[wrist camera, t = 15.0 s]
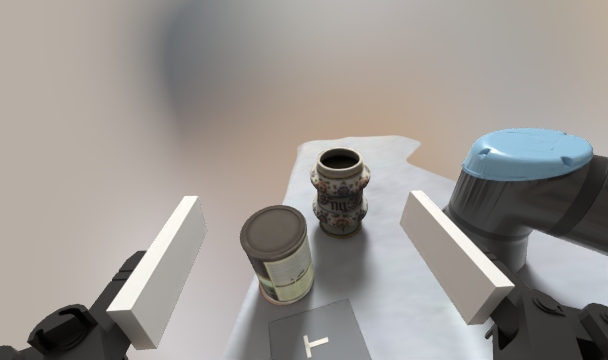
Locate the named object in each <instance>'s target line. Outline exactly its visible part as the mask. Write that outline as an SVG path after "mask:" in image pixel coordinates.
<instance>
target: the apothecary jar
mask: <svg viewBox="0 0 608 360" xmlns="http://www.w3.org/2000/svg"><path fill="white" fill-rule="evenodd" d="M310 179H311V182H312V184H313V186H314V187H315V188H316V189H317V195H316V196H315V198H314V200H313V211H314V213H315V215H316V217H317V218H318V219H319V220H320V222H319V223H320V227H321V229H322V230H323V231H324V232H325V233H326V234H327V235H329V236H331V237H335V238H348V237H351V236H353V235H355V234H356V233H357V232H358V231H359V230H360V228H361V226H362V221H361V220H362V219H363V218H364V217H365V215H366V213H367V210H368V203H367V200H366V198H365V196H364V195H363V189H364V188H365V187H366V186H367V184H368V182H369V180H370V171H369V168H368V167H367V165H366V164H365V163H364V162H363V161H362V157H361V155H360V154H359V153H358V152H357V151H355V150H353V149H350V148H346V147H334V148H330V149H327V150H325V151H323V152H322V153H320V154H319V156H318V159H317V163H316V164H315V165H314V166H313V168H312V170H311V173H310Z"/></svg>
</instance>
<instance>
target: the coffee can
mask: <svg viewBox="0 0 608 360" xmlns="http://www.w3.org/2000/svg"><path fill="white" fill-rule="evenodd" d="M240 242H241V245H242V247H243V249H244V250H245V252H246V254H247V256H248V258H249V260H250V262H251V264H252V266H253V268H254V270H255V273H256V275H257V277H258V279H259V281H260V283H261V285H262V288H263V291H264V293H265V294H266V296H267V297H268V298H269V299H271V300H272V301H274V302H277V303H280V304H289V303H293V302H296V301H298V300H300V299H301V298H303V297H304V296H305V295H306V294H307V293H308V291H309V290H310V288H311V286H312V284H313V280H314V269H313V266H312V260H311V254H310V248H309V242H308V236H307V225H306V220H305V218H304V216H303V215H302V214H301V212H299V211H298V210H297V209H295V208H293V207H290V206H285V205H276V206H270V207H266V208H264V209H262V210H260V211H258V212H256V213H255V214H253V215H252V216H251V217H250V218H249V219H248V220H247V221H246V222H245V224H244V225H243V227H242V230H241V233H240Z"/></svg>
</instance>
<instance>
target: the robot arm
mask: <svg viewBox="0 0 608 360" xmlns="http://www.w3.org/2000/svg"><path fill="white" fill-rule="evenodd" d="M462 167H463V169H462V171H461V174H460V176H459V179H458V181H457V184H456V186H455V189H454V191H453V194H452V196H451V199H450V201H449V204H448V205H447V206H446V207H444V208H443V209H442V210H440V209H439V208H438V207H437V206H436V205H435V204H434V203H433V202H432V201H431V200H430V199H429V198H428V197H427V196H426V195H425V194H424V193H423V192H422V191H410V193H409V196H408V199H407V202H406V205H405V208H404V211H403V214H402V218H401V221H400V225H401V227H402V228H403V230H404V231H405V233H406V234H407V236H408V237H409V239H410V240H411V241H412V243H413V244H414V246H415V247H416V249H417V250H418V252H419V253H420V255H421V256H422V258H423V259H424V261H425V262H426V264H427V265H428V267H429V268H430V270H431V271H432V273H433V274H434V276H435V277H436V279H437V280H438V282H439V283H440V285H441V286H442V288H443V289H444V291H445V292H446V294H447V295H448V297H449V298H450V300H451V301H452V303H453V304H454V306H455V307H456V309H457V310H458V312H459V313H460V315H461V316H462V318H463V319H464V321H465V322H466V324H467V325H475V324H484V322H485V321H486V320H487V319H488V318H489V316H490V317H491V318H492V320H493V321H494V322H495V324H494V325H493V326H492V327H491V329H490V330H489V331H488V332H487V333H486V335H485V338H486V339H489V337H490V336H491V335H493V341H492V342H493V360H608V307H607V306H604V305H602V304H596V303H591V304H588V305H587V306H586V307H584V308H583V309H582V310H580V309H576V308H572V307H567V306H563V305H560V304H559V303H558V302H557V301H556V300H554V299H553V298H552V297H550V296H548V295H546V294H544V293H542V292H540V291H537V290H533V289H529V288H527V287H526V286H525V285H524V284H523V283H522V282H521V281H520V280H519V279H518V278H517V277H516V276H515V274H516V273H517V272H518V271H519V270H520V269H521V268H522V267H523V265H524V263H525V261H526V253H527V244H528V236H529V234H530V233H531V232H532V230H533V229H534V230H537V231H540V232H543V233H545V234H548V235H551V236H554V237H556V238H559V239H562V240H565V241H568V242H570V243H573V244H576V245H579V246H582V247H584V248H587V249H590V250H593V251H596V252H598V253H601V254H604V255H606V256H608V157H603V156H598V155H593V148H592V146H591V144H590V143H589V142H588V141H586V140H584V139H582V138H580V137H578V136H575V135H567V134H566V133H565V132H560V131H555V130H548V129H535V128H516V129H506V130H501V131H496V132H492V133H489V134H487V135H484V136H482V137H481V138H479V139H478V140H477V141H476V142H475V143H474V144H473V146H472V147H471V150H470V151H469V154H468V156H467V158H466V159H465V160H464V161H463V164H462ZM206 233H207V227H206V223H205V220H204V216H203V212H202V208H201V205H200V201H199V197H198V196H185V197H184V198H183V200H182V201H181V203H180V204H179V205H178V207H177V208H176V210H175V211H174V213H173V214H172V216H171V217H170V219H169V220H168V222H167V223H166V225H165V226H164V227H163V229H162V230H161V232H160V233H159V235H158V236H157V238H156V239H155V240H154V242H153V243H152V245H151V246H150V248H149V249H148V251H137V252H136V253H135V254H134V255H132V256H131V257H130V258H129V259H127V260H126V262H125V263H124V264H123V266H122V267H121V268H120V269H119V272H118V273H117V274H116V275H115V276H114V277H113V279H112V281H111V282H110V283H109V284H108V285H107V287H106V288H105V289H104V291H103V292H102V293H101V295H100V296H99V297H98V299H97V300H96V301H95V303H94V304H93V305H92V307H91V308H90V309H89V310H88V309H87V308H86V307H85V306H84V305H80V304H74V305H68V306H66V307H64V308H61V309H58V310H57V311H55V312H53V313H52V314H50V315H49V316H47V317H46V318H45V319H44V320H42V321H41V322H40V323H39V324H38V325H37V326H36V327H35V328H34V330H33V331H32V332H31V333H30V335H29V338H28V341H27V342H28V343H29V344H30V345H31V346H32V347H29V348H27V349H24V350H21V351H17V350H16V349H14V348H13V347H11V346H0V360H128V357H127V356H126V352H127V350H128V348H129V346H130V344H132V345H133V346H134V348H135V349H136V350H145V349H157V347H158V345H159V343H160V340H161V338H162V335H163V333H164V331H165V329H166V326H167V324H168V322H169V319H170V317H171V314H172V312H173V310H174V308H175V305H176V303H177V301H178V298H179V296H180V293H181V291H182V289H183V287H184V284H185V282H186V279H187V277H188V275H189V273H190V270H191V268H192V266H193V263H194V261H195V258H196V256H197V254H198V252H199V249H200V247H201V244H202V242H203V240H204V238H205V235H206Z"/></svg>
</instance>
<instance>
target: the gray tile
mask: <svg viewBox="0 0 608 360" xmlns="http://www.w3.org/2000/svg"><path fill="white" fill-rule="evenodd" d="M269 333H270V344H271V355H272V360H372V359H371V357H370V354H369V352H368V349H367V346H366V344H365V341H364V339H363V336H362V334H361V331H360V328H359V326H358V323H357V321H356V318H355V315H354V313H353V310H352V308H351V305H350V303H349V300H348V299H345V300H342V301H338V302H335V303H332V304H329V305H325V306H322V307H319V308H316V309H312V310H309V311H306V312H303V313H299V314H296V315H293V316H290V317H286V318H283V319H280V320H277V321H273V322H270V323H269Z"/></svg>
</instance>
